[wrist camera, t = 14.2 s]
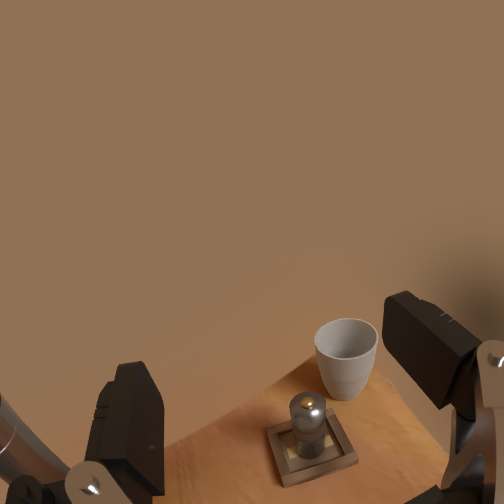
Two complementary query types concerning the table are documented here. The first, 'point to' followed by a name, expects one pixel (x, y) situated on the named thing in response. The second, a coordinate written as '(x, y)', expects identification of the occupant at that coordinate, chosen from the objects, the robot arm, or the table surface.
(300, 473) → the bay
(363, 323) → the cup
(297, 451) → the cell
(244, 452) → the table surface
